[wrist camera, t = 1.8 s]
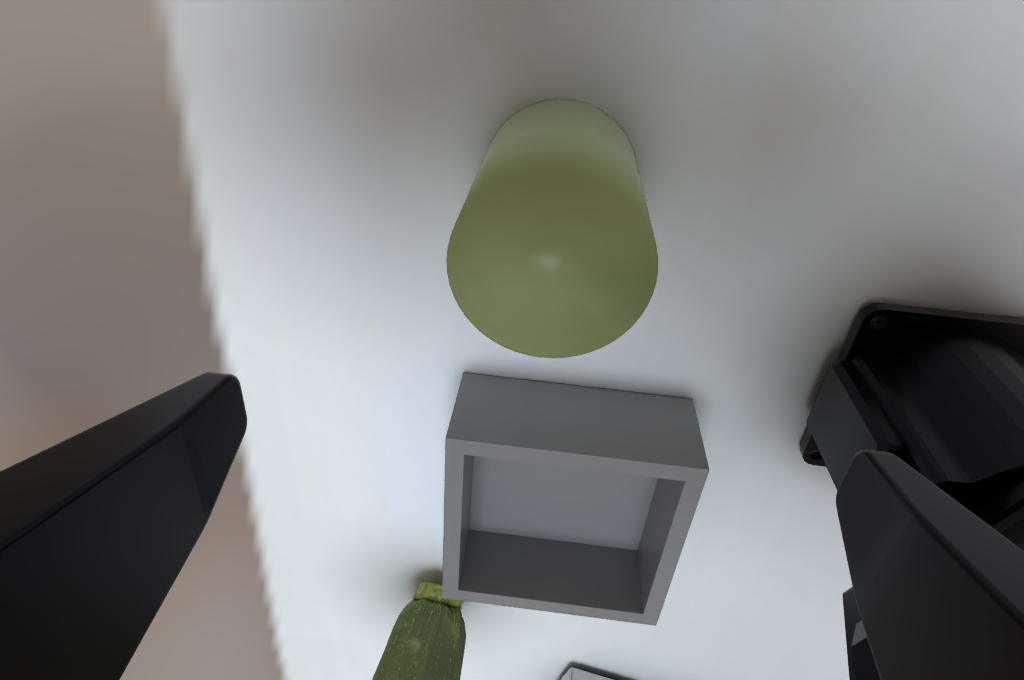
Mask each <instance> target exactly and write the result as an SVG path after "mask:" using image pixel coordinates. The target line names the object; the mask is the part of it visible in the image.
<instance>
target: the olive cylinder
mask: <svg viewBox="0 0 1024 680" xmlns="http://www.w3.org/2000/svg"><path fill="white" fill-rule="evenodd" d="M447 273H448V278H449V283H450V287H451V289H452V292H453V295H454V297H455V299H456V301H457V303H458V305H459V307H460V309H461V310H462V312H463V313H464V314H465V316H466V317H467V318H468V320H469V321H470V322H471V323H472V324H473V325H474V326H475V327H476V328H477V329H478V330H479V331H480V332H482V333H483V334H484V335H485V336H487V337H488V338H490V339H491V340H492V341H494V342H496V343H498V344H500V345H501V346H503V347H505V348H508V349H510V350H513V351H515V352H519V353H522V354H526V355H530V356H536V357H544V358H564V357H571V356H578V355H582V354H585V353H589V352H592V351H594V350H597V349H599V348H602V347H604V346H606V345H607V344H609V343H611V342H613V341H614V340H616V339H617V338H619V337H620V336H621V335H623V334H624V333H625V332H626V331H627V330H628V329H630V328H631V327H632V326H633V325H634V323H635V322H636V321H637V320H638V319H639V318H640V316H641V315H642V313H643V312H644V310H645V309H646V307H647V305H648V303H649V301H650V299H651V297H652V294H653V291H654V288H655V285H656V280H657V273H658V255H657V248H656V243H655V238H654V234H653V230H652V226H651V221H650V217H649V213H648V208H647V204H646V200H645V196H644V191H643V187H642V183H641V179H640V174H639V170H638V166H637V162H636V157H635V154H634V151H633V147H632V145H631V143H630V141H629V139H628V137H627V135H626V134H625V132H624V131H623V129H622V128H621V127H620V126H619V125H618V123H617V122H616V121H615V120H614V119H612V118H611V117H610V116H609V115H608V114H606V113H605V112H603V111H602V110H600V109H599V108H597V107H594V106H592V105H590V104H587V103H584V102H581V101H577V100H571V99H552V100H545V101H541V102H537V103H535V104H532V105H530V106H527V107H525V108H523V109H522V110H520V111H518V112H517V113H515V114H514V115H513V116H511V117H510V118H509V119H508V120H507V121H506V122H505V123H504V124H503V125H502V126H501V127H500V129H499V130H498V131H497V133H496V134H495V136H494V138H493V139H492V141H491V143H490V145H489V148H488V150H487V152H486V154H485V157H484V159H483V161H482V164H481V166H480V168H479V171H478V173H477V175H476V177H475V180H474V182H473V184H472V187H471V189H470V191H469V194H468V196H467V198H466V200H465V203H464V205H463V207H462V210H461V212H460V214H459V217H458V219H457V221H456V223H455V226H454V228H453V231H452V233H451V236H450V240H449V245H448V251H447Z"/></svg>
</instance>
